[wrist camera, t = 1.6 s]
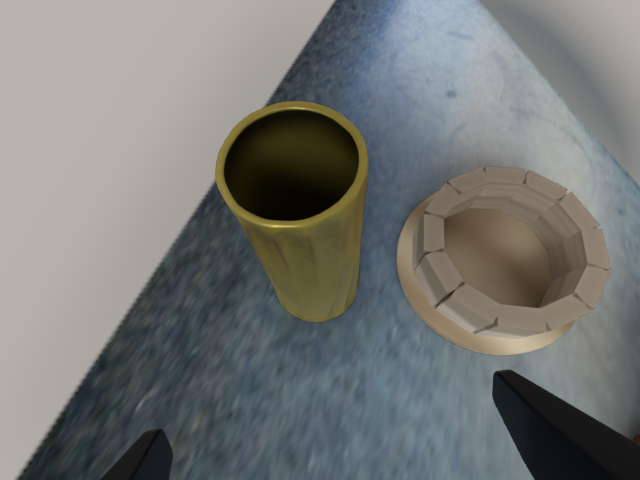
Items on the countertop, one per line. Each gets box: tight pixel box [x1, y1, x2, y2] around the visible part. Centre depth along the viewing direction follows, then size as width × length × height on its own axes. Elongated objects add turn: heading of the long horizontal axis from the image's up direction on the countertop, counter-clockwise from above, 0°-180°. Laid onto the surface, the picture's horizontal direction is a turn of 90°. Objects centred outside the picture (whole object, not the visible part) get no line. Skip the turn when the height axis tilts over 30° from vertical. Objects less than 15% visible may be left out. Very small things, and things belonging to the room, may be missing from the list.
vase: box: [215, 101, 368, 322], centre depth 18 cm, size 6×6×14 cm
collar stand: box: [396, 166, 611, 355], centre depth 22 cm, size 12×12×4 cm
